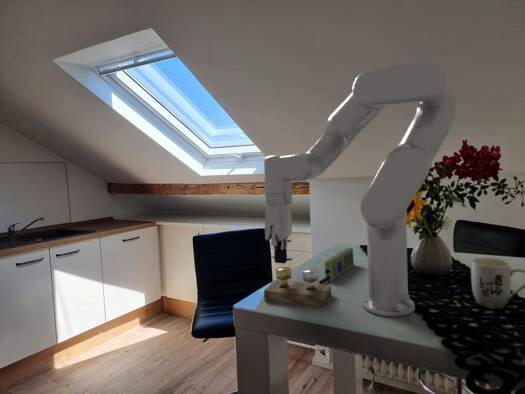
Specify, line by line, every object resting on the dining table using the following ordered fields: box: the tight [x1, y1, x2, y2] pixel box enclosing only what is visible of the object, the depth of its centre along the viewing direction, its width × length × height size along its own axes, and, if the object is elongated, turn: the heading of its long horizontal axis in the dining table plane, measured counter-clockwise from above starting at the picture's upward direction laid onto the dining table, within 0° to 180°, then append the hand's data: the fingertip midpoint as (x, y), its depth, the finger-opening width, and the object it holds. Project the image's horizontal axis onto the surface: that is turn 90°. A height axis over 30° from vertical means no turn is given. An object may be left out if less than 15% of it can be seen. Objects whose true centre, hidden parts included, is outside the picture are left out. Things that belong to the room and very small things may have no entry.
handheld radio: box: [318, 247, 355, 284], centre depth 123 cm, size 7×3×25 cm
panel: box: [263, 279, 332, 308], centre depth 105 cm, size 17×9×3 cm, turn 66°
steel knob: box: [301, 267, 320, 291], centre depth 103 cm, size 4×4×6 cm
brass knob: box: [275, 266, 292, 288], centre depth 106 cm, size 4×4×6 cm
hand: (280, 262), depth 106 cm, fingers closed
